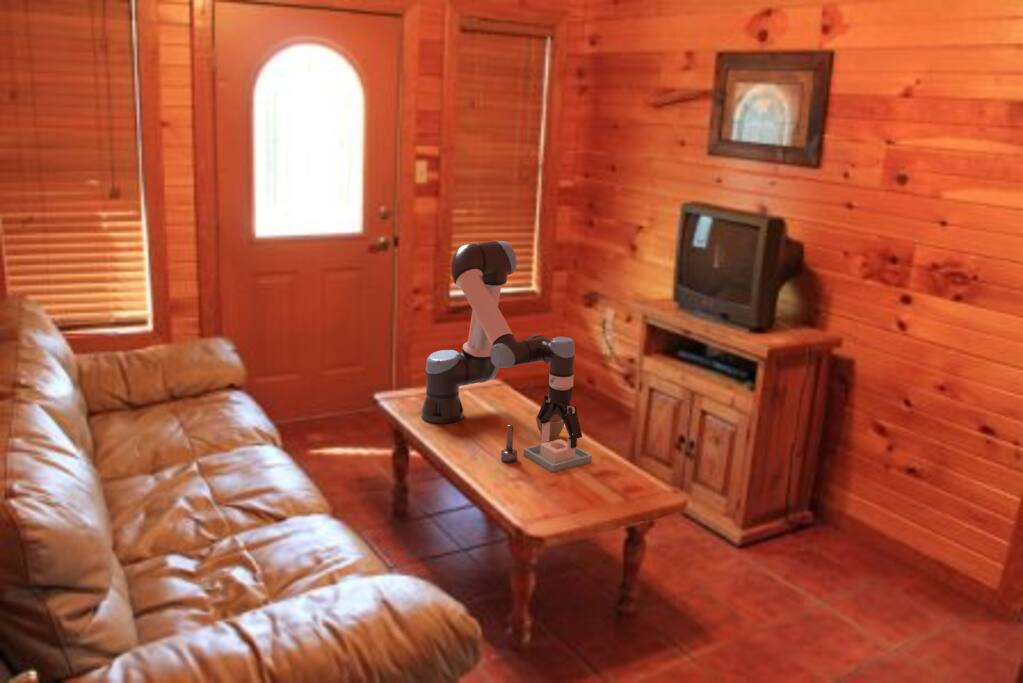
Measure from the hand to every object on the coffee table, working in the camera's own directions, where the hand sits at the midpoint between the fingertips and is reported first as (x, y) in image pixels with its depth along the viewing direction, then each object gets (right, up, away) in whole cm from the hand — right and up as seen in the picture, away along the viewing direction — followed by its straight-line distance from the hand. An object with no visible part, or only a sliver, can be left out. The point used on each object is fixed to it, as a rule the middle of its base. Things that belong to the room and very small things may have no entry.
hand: (557, 449), depth 278 cm
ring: (0, -3, +1) cm, 3 cm away
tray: (0, -3, +1) cm, 3 cm away
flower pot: (-2, +2, +19) cm, 19 cm away
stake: (-16, -3, -1) cm, 16 cm away
